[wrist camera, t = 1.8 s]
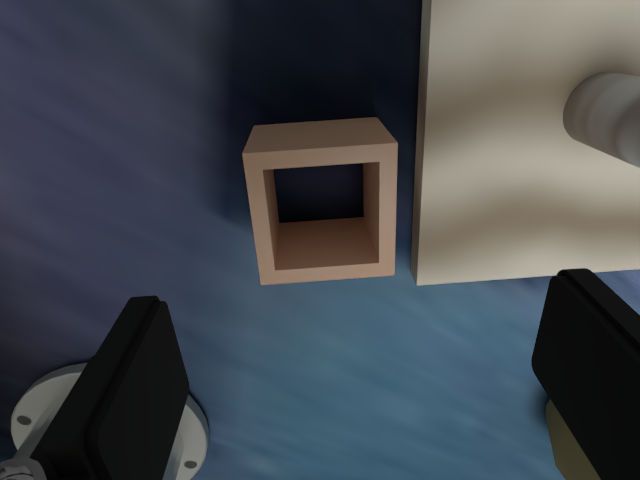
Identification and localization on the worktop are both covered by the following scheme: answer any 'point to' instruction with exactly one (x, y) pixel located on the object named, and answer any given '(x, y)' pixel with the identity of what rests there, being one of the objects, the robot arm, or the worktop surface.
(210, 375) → the worktop surface
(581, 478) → the squeeze bottle
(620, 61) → the base
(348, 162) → the collar
